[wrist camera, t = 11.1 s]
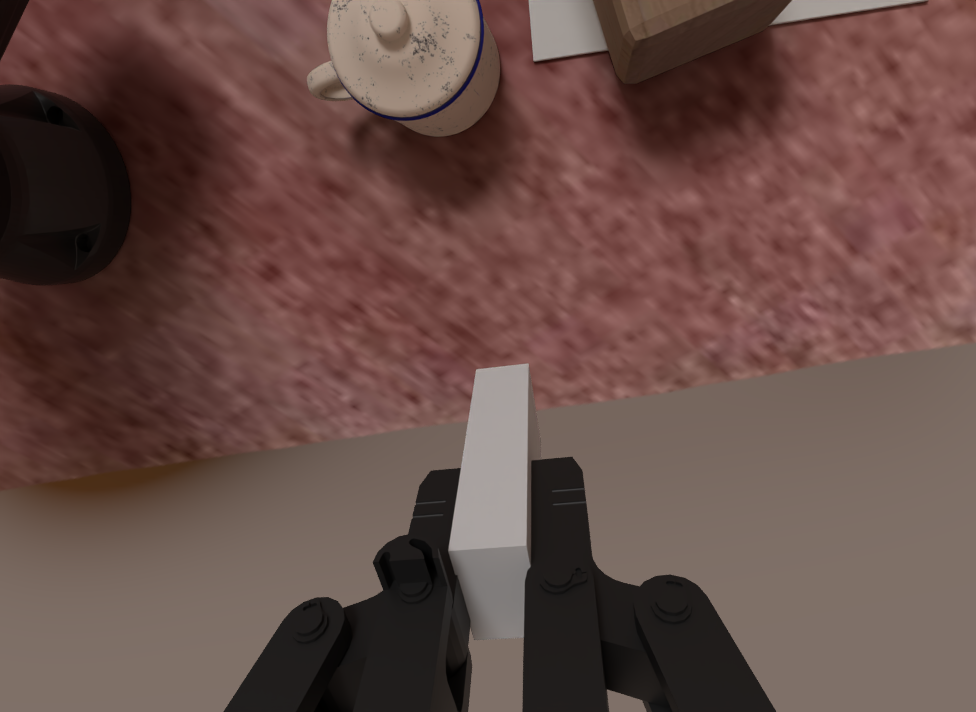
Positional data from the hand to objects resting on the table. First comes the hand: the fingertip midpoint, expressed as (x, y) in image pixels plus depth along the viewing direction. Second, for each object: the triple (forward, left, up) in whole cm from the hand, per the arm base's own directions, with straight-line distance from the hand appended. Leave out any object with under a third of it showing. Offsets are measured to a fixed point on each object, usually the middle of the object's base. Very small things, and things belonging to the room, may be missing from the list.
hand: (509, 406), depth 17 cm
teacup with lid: (-8, +16, -27) cm, 33 cm away
